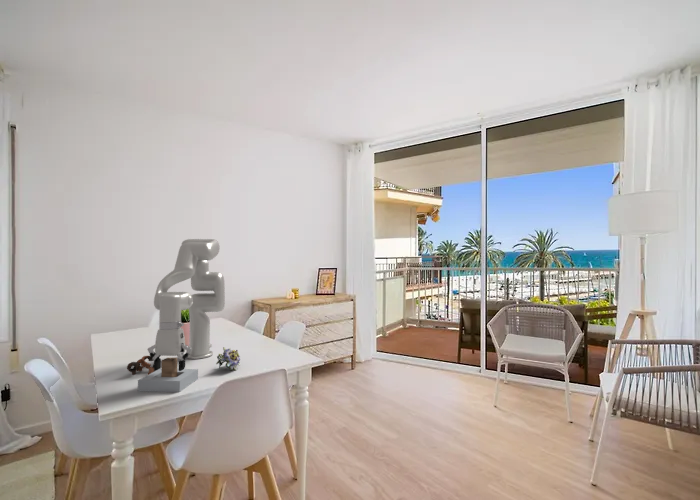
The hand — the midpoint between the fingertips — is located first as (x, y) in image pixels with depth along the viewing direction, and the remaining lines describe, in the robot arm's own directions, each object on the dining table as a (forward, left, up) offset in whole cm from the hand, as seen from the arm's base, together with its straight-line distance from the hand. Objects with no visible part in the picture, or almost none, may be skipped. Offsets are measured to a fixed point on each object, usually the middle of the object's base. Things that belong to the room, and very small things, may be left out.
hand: (169, 369), depth 136 cm
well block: (0, 0, -6) cm, 6 cm away
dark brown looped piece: (-12, -19, -6) cm, 23 cm away
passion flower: (-20, +15, -6) cm, 26 cm away
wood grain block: (0, 0, -6) cm, 6 cm away
